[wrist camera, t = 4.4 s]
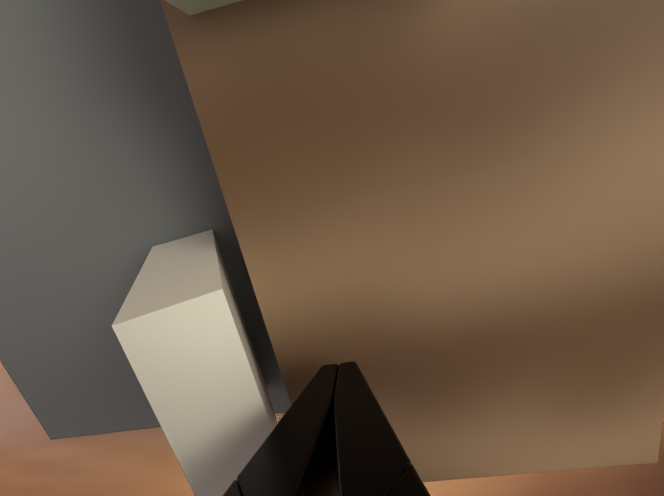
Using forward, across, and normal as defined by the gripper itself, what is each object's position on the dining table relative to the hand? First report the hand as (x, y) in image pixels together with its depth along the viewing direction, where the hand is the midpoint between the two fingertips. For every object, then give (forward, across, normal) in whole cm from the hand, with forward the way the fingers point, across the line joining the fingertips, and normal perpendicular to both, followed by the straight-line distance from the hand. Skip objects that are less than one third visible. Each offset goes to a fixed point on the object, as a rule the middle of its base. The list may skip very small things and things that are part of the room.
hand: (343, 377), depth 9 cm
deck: (+5, -3, -6) cm, 8 cm away
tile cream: (+2, +3, 0) cm, 3 cm away
